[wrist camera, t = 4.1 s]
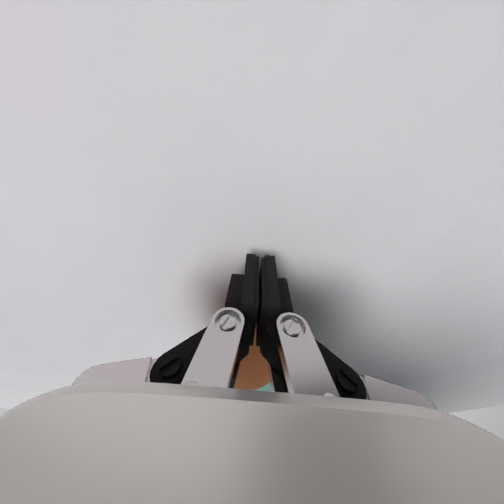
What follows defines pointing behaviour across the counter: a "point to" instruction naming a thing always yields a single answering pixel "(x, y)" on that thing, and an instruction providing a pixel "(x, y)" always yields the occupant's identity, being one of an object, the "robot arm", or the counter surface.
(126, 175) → the counter surface
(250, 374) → the ball
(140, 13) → the counter surface
